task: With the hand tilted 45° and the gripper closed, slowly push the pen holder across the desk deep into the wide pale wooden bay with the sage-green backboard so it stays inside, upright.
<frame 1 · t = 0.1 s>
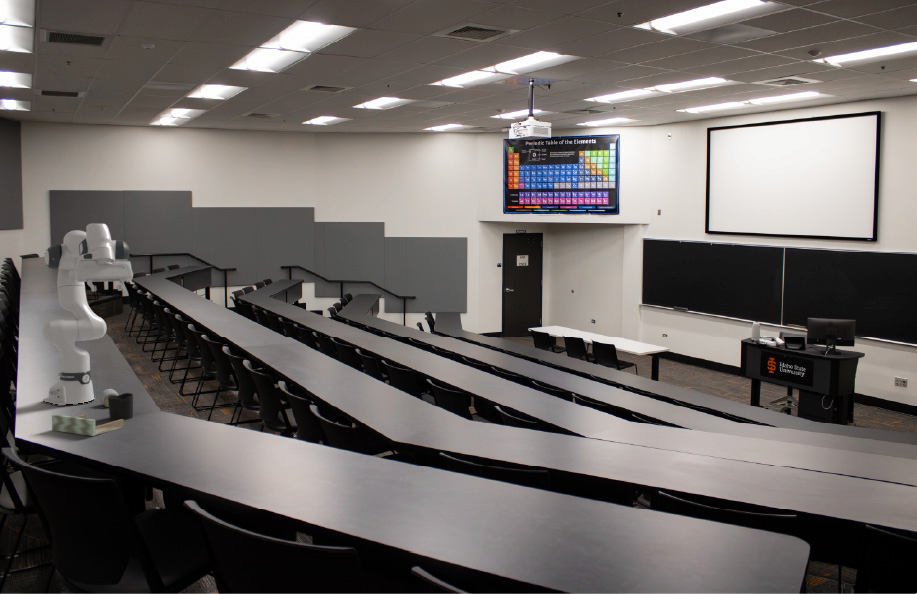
hand: (107, 290, 271), 55 cm above the table, tool tilted 30°, fingers open, 8 cm apart
corral: (89, 428, 274), on the table
ceramic mug: (114, 406, 311), on the table
pen holder: (121, 419, 289), on the table
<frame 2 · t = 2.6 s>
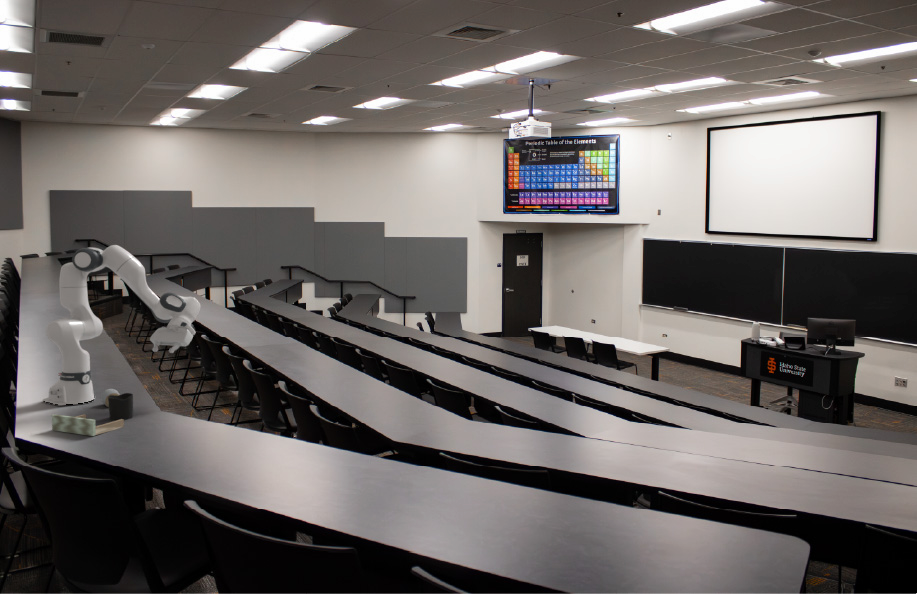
hand: (162, 351, 309), 26 cm above the table, tool tilted 45°, fingers open, 8 cm apart
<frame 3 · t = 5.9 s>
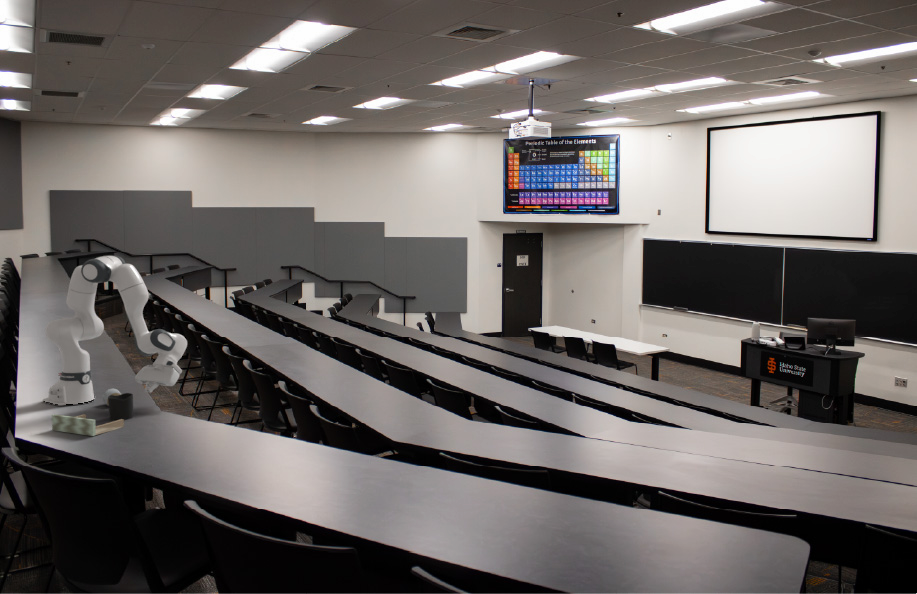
hand: (147, 391, 301), 9 cm above the table, tool tilted 45°, fingers closed
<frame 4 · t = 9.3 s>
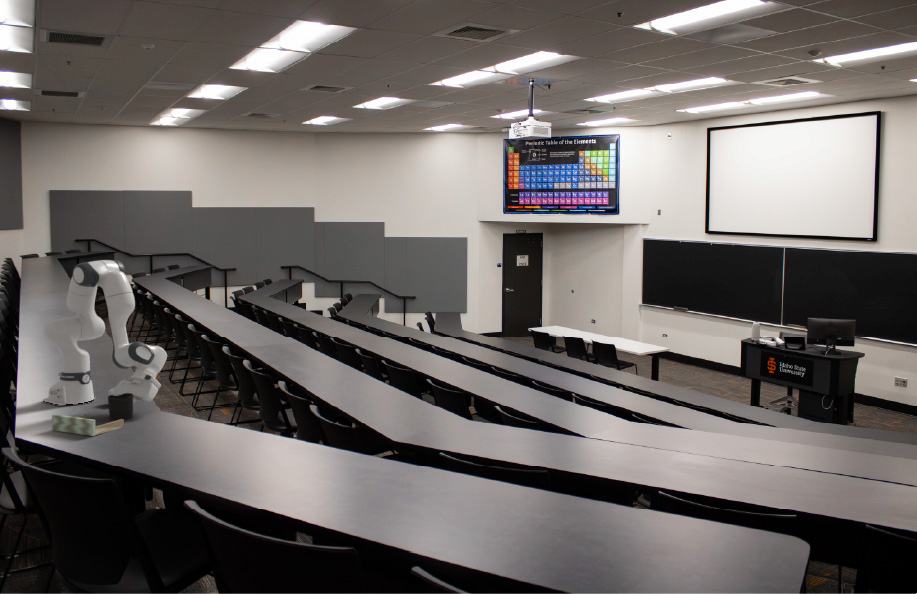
hand: (124, 407, 290), 5 cm above the table, tool tilted 45°, fingers closed, pressing on pen holder
pen holder: (121, 419, 289), on the table, touching gripper
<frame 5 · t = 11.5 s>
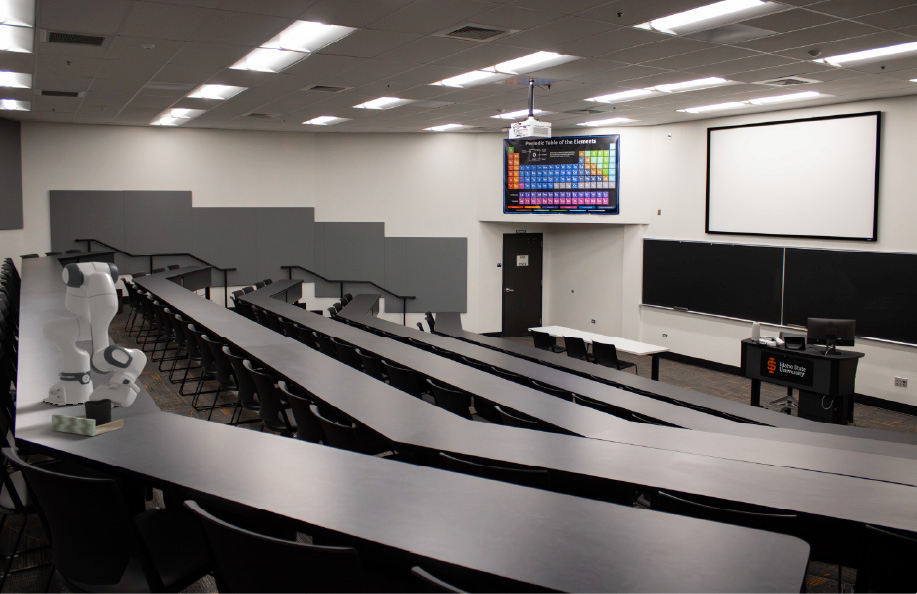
hand: (101, 412, 279), 5 cm above the table, tool tilted 45°, fingers closed, pressing on pen holder
pen holder: (99, 426, 278), on the table, touching gripper
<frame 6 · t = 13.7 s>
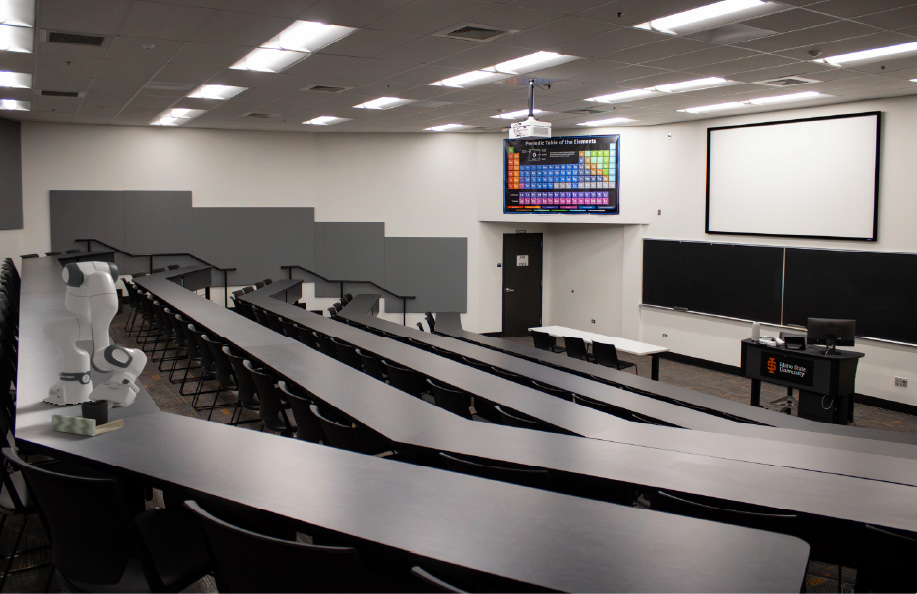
hand: (100, 412, 279), 5 cm above the table, tool tilted 45°, fingers closed
pen holder: (95, 427, 276), on the table
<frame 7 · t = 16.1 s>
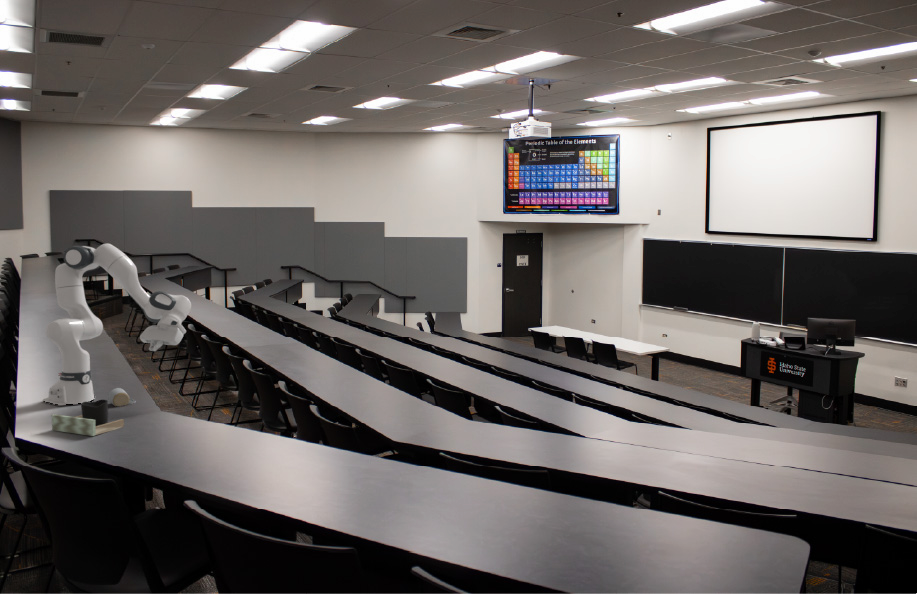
hand: (152, 350, 305), 27 cm above the table, tool tilted 45°, fingers closed
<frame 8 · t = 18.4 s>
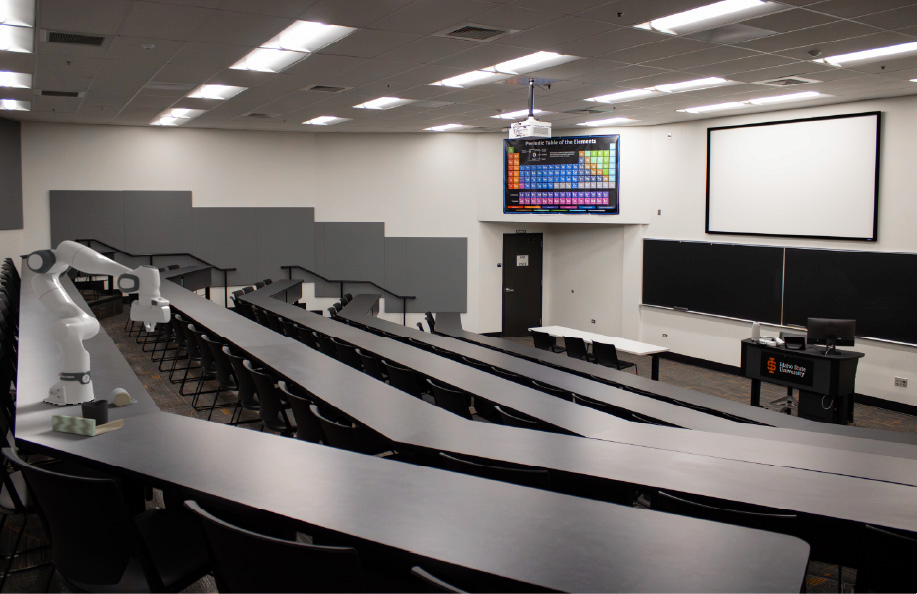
hand: (150, 331, 312), 34 cm above the table, tool pointing down, fingers closed
at the end: pen holder inside the target area on the corral (3.6 cm from its centre), point 0.0 cm above the corral's base; pen holder tilted 2° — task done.
